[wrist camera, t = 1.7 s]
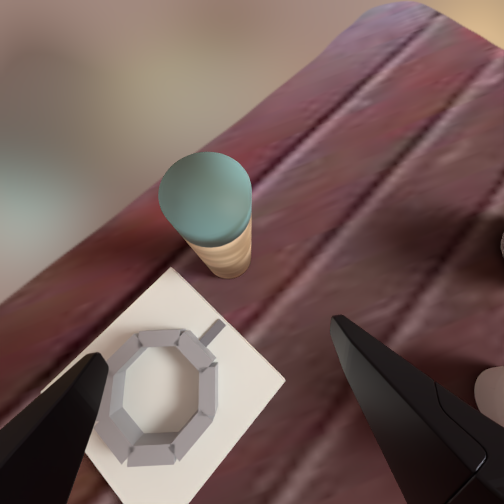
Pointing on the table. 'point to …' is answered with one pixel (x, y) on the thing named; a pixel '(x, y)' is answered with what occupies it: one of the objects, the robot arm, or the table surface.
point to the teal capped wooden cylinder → (211, 210)
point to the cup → (491, 393)
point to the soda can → (502, 244)
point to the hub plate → (173, 394)
